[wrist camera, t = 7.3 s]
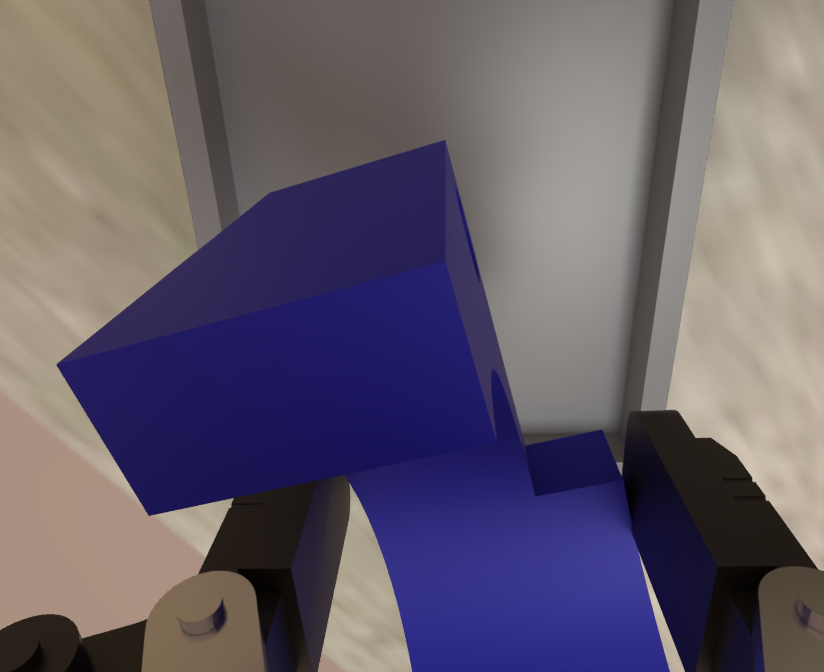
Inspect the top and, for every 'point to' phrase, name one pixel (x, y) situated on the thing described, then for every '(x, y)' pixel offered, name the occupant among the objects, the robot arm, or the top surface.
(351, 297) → the blue curved block
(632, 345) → the tray
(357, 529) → the top surface
